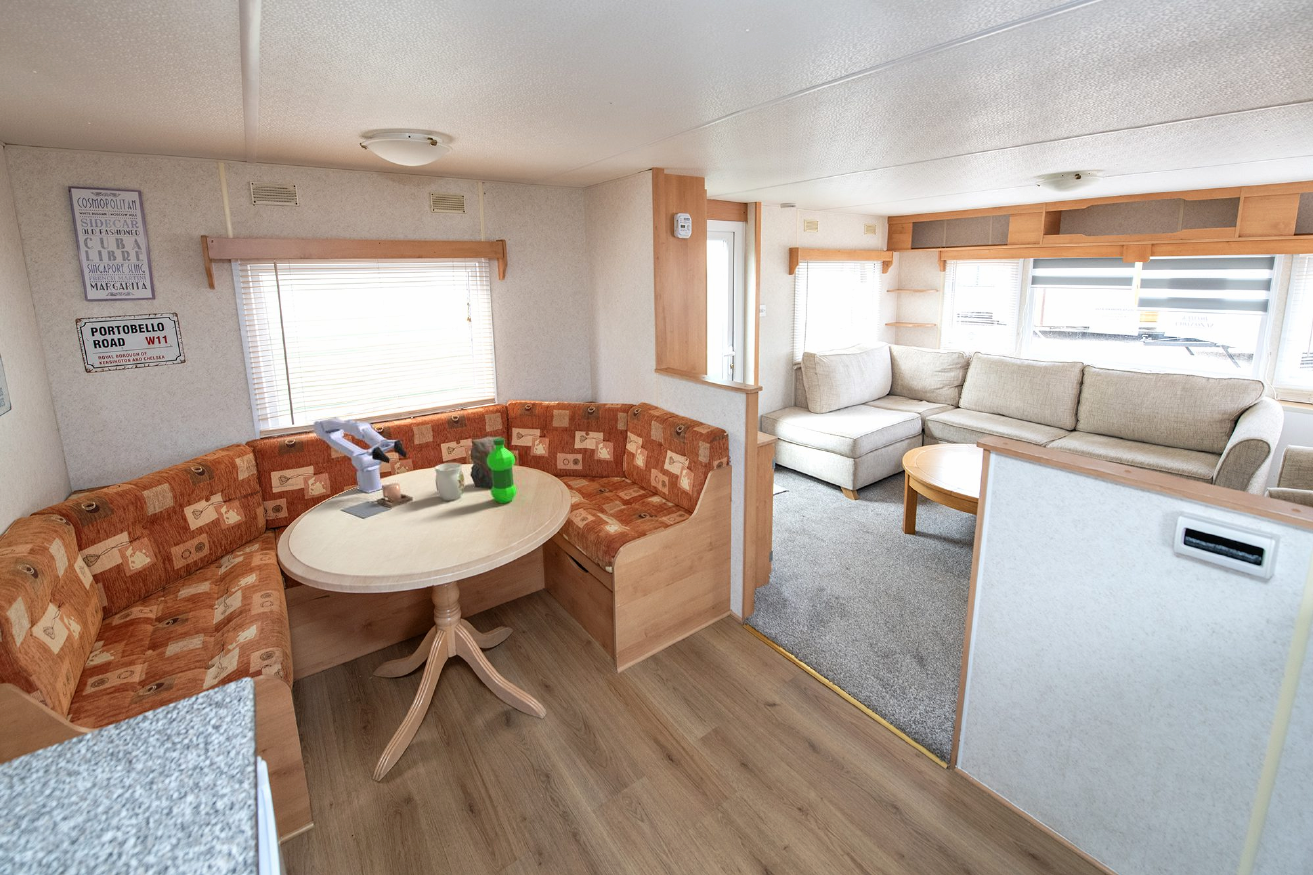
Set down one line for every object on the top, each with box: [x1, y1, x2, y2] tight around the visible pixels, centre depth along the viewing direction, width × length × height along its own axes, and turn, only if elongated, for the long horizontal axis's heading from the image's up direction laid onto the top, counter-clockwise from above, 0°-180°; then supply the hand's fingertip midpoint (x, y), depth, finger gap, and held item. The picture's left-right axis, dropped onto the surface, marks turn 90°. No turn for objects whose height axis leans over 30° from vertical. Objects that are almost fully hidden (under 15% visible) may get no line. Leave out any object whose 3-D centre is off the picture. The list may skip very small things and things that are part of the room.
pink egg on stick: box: [381, 482, 402, 503], centre depth 244 cm, size 9×5×7 cm, turn 55°
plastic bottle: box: [487, 437, 518, 504], centre depth 239 cm, size 10×10×25 cm
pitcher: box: [434, 462, 466, 501], centre depth 246 cm, size 11×18×14 cm, turn 6°
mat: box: [341, 500, 391, 519], centre depth 236 cm, size 16×11×1 cm
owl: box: [469, 435, 503, 490], centre depth 260 cm, size 13×13×20 cm
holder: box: [376, 493, 414, 509], centre depth 244 cm, size 10×10×2 cm
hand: (397, 458), depth 246 cm, fingers open, 7 cm apart
